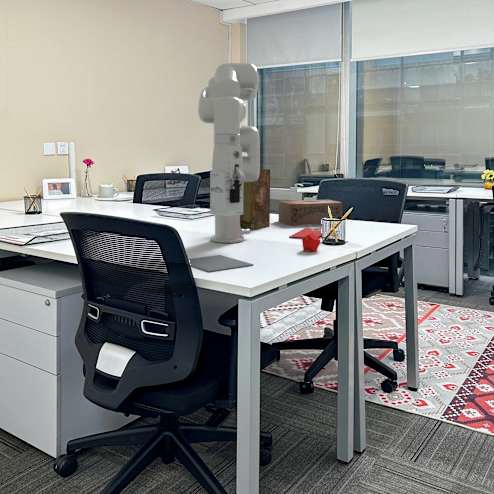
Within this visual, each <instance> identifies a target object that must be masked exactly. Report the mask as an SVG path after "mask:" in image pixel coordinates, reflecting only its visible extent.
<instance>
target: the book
mask: <svg viewBox="0 0 494 494" xmlns="http://www.w3.org/2000/svg"><path fill="white" fill-rule="evenodd" d="M270 210H271V169H269V168H268V169H266V168H265V169H263V168H262V169H261V168H260V173H259V178H258V180H257V181H254V182H243V215H240V228H242V229H243V230H245V229H250V231H255V230H260V229H263V228H268V227H270V223H271V222H270V221H271V220H270V219H271V218H270V217H271V212H270Z"/></svg>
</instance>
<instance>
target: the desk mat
mask: <svg viewBox="0 0 494 494" xmlns="http://www.w3.org/2000/svg"><path fill="white" fill-rule="evenodd" d="M188 259H189V260H190V264H191V266H190V267H192V268H195V267H196V269H198V270H201V271H203V272H207V273H214V271H215V272H219V271H227V270H234V269H239V268H241V269H242V268H247V267H253V266H254V263H249V262H246V261H243V260H239V259H236V258H232V257H229V256H227V255H221V254H216V255H209V256H208V255H207V256H201V257H195V258H193V257H192V258H188Z"/></svg>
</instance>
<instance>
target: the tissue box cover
mask: <svg viewBox="0 0 494 494" xmlns="http://www.w3.org/2000/svg"><path fill="white" fill-rule="evenodd" d="M343 203H344V202H341V201H337V200H332V199H300V200H299V199H298V200H297V199H295V200H278V222H279V223H282V224H285V225H286V226H289V227H294V226H318V225H319V226H320V225H321V218H323V217H328V206H329V208H330V210H331V214H332V216H333V217H334V218H338V217H342V218H343V206H344V205H343ZM321 226H322V225H321Z"/></svg>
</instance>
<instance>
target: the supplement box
mask: <svg viewBox="0 0 494 494" xmlns="http://www.w3.org/2000/svg"><path fill="white" fill-rule="evenodd" d="M243 174H244V173H243ZM209 175H210V176H209V180H210V181H209V182H210V183H209V187H210V188H209V195H210V196H209V199H210V201H209V203H210V204H209V206H210V208H209V214H211V215H212V214H213V215H215V214H217V215H222V216H233V215H243V183H242V185H241V189H240V202H239V203H230V189H231V186H230V180H229V179H228V173H226V172H218V171H212V170H211V171H210V172H209ZM237 176H238V175H237V174H236V173H235V172H234V175H233V178H237ZM233 182H234V183H235V182H236V181H233ZM243 182H244V180H243Z"/></svg>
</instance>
